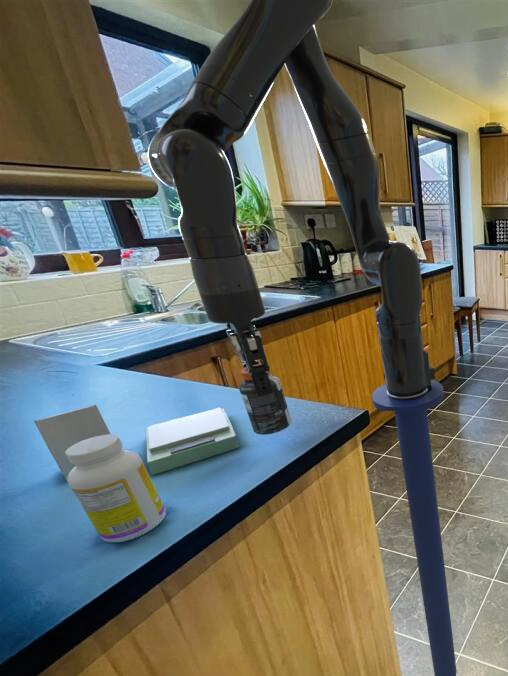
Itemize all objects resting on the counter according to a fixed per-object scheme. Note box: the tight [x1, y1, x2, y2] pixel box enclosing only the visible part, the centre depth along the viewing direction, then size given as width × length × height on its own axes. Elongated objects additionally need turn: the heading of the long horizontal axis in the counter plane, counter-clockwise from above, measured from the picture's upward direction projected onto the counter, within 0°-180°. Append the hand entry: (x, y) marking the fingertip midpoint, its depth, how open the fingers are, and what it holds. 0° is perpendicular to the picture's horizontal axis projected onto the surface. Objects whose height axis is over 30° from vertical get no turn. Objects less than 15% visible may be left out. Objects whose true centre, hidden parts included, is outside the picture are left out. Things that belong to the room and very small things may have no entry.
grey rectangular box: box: [33, 404, 112, 482], centre depth 64 cm, size 4×7×10 cm, turn 141°
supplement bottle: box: [65, 433, 167, 543], centre depth 50 cm, size 7×7×13 cm
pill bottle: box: [238, 363, 293, 436], centre depth 68 cm, size 6×6×11 cm
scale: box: [145, 406, 241, 476], centre depth 71 cm, size 12×14×3 cm
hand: (260, 387), depth 67 cm, fingers closed on pill bottle, 6 cm apart
